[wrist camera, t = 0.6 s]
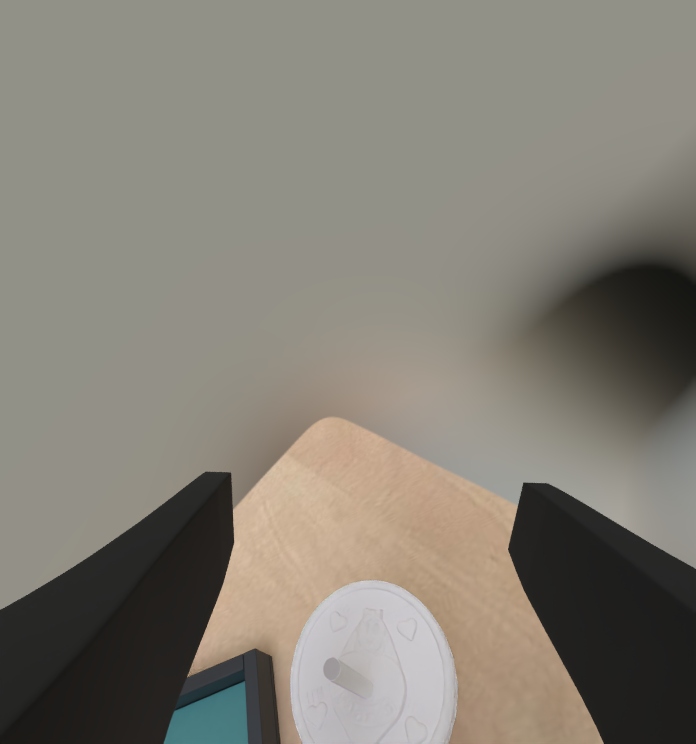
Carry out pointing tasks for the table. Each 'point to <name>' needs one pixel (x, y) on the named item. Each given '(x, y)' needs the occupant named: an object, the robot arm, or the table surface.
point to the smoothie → (373, 670)
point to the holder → (228, 704)
